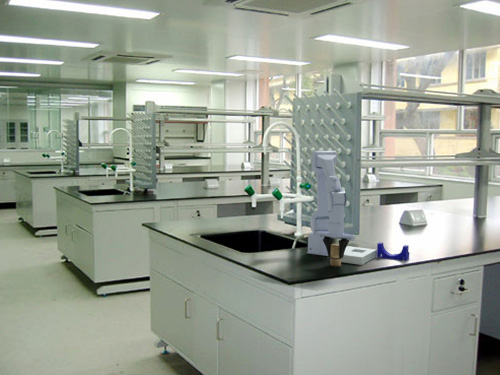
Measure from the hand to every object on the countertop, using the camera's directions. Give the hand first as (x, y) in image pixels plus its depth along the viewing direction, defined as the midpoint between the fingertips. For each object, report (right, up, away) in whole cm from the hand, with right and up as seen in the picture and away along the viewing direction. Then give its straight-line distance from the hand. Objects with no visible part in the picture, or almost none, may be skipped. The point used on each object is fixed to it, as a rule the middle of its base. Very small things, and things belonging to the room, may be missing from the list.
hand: (335, 256), depth 195 cm
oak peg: (0, -3, 0) cm, 3 cm away
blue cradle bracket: (+26, -3, +13) cm, 29 cm away
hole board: (+10, -2, +11) cm, 15 cm away
